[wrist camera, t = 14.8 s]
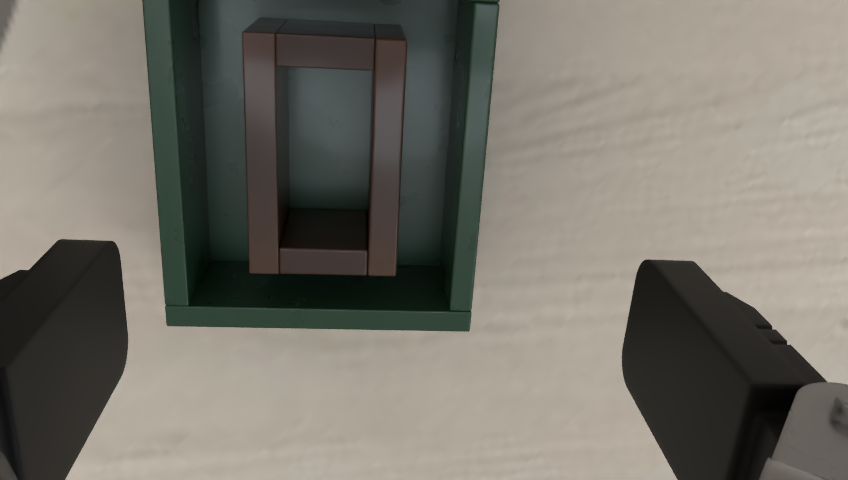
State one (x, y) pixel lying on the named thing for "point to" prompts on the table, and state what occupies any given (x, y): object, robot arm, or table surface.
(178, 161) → the holder
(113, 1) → the table surface
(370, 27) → the frame
